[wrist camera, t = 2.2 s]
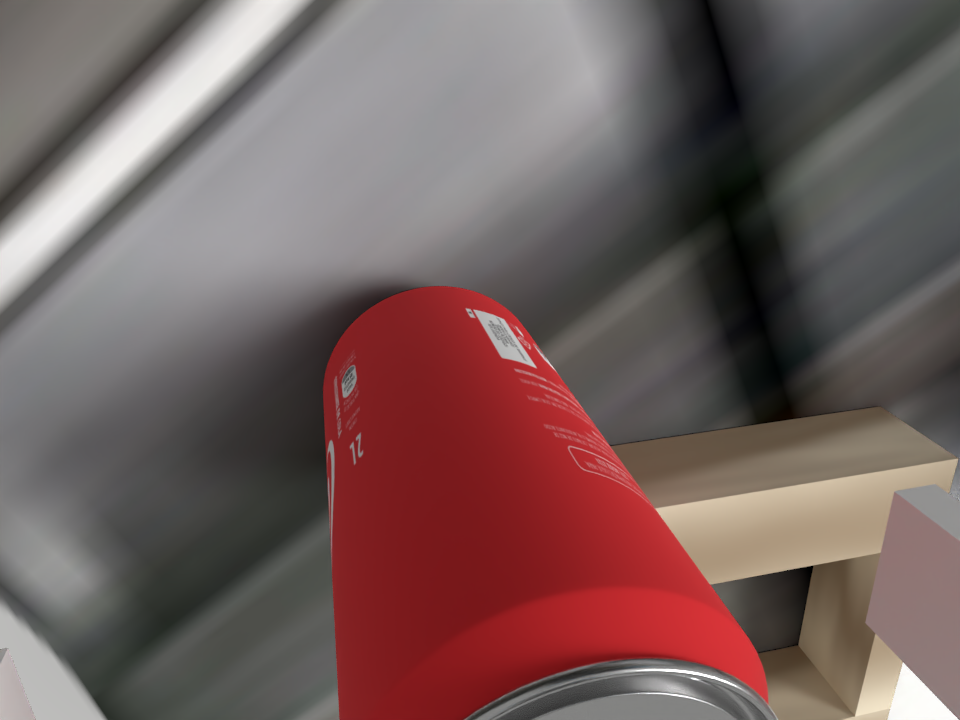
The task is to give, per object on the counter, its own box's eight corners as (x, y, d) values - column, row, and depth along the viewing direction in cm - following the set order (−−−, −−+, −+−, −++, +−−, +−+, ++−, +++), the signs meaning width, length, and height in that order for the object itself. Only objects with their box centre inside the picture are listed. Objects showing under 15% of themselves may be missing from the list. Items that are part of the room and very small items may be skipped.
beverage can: (527, 445, 20) (776, 918, 10) (334, 472, 19) (371, 1028, 9) (527, 261, 18) (849, 607, 7) (309, 282, 17) (318, 709, 6)
